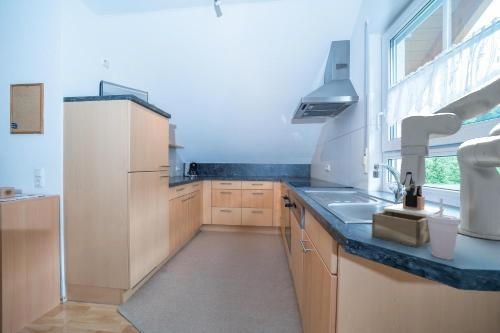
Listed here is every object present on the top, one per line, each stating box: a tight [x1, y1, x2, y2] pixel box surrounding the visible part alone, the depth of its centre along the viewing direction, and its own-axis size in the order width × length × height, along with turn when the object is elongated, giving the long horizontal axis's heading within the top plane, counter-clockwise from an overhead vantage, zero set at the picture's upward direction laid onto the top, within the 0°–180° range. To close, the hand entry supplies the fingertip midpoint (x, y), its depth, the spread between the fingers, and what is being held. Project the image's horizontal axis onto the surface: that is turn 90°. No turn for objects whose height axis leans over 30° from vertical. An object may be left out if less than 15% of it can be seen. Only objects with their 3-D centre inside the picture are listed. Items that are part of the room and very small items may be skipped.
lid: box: [382, 195, 444, 217], centre depth 73 cm, size 16×12×5 cm
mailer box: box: [371, 210, 431, 249], centre depth 67 cm, size 16×12×7 cm
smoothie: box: [426, 198, 461, 261], centre depth 52 cm, size 6×6×14 cm
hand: (413, 205), depth 73 cm, fingers closed on lid, 4 cm apart
